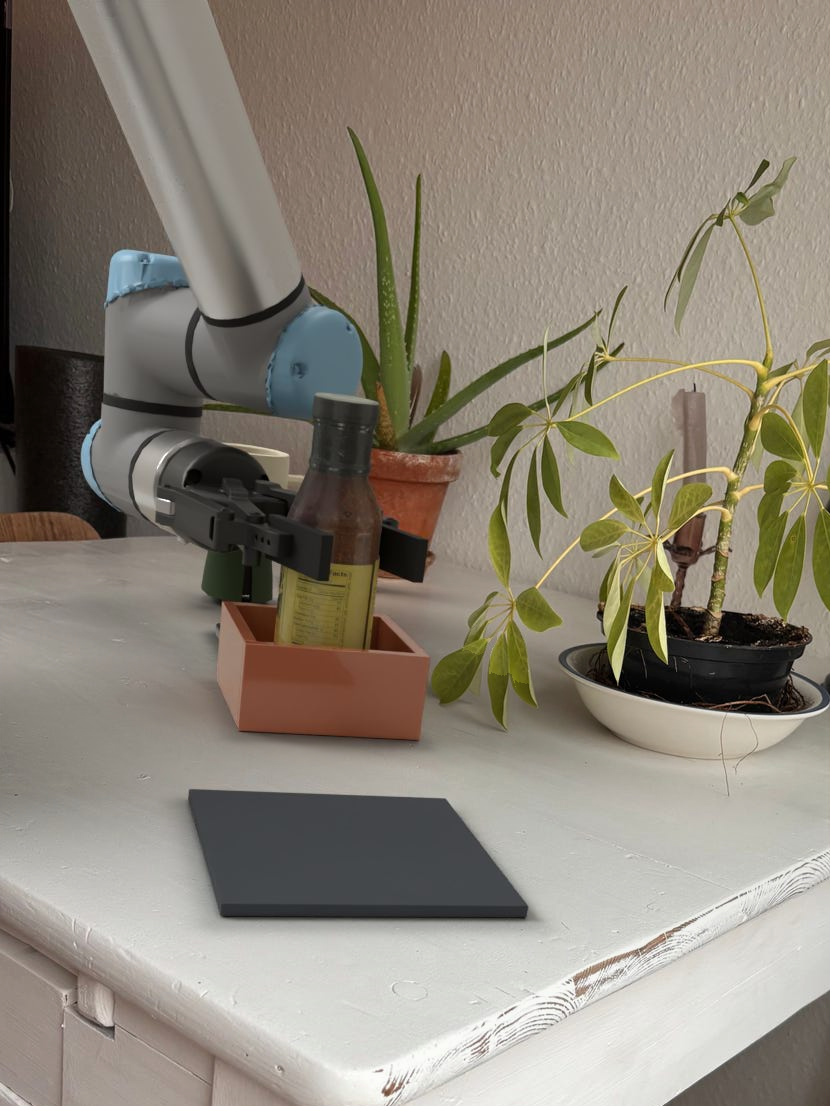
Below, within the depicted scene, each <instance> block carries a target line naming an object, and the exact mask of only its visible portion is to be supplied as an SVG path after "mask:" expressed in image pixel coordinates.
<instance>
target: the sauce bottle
mask: <svg viewBox="0 0 830 1106" xmlns="http://www.w3.org/2000/svg"><path fill="white" fill-rule="evenodd" d="M312 416H313V420H312V421H313V429H312V431H313V432H312V442H311V452H310V456H309V458H308V468H307V470H306V472H305V474H304V475H305V477H304V479H303V481H302V483H301V486H300V488H299V490H298V492H297V495H296V497H295V499H294V502H293V504H292V506H291V509H290V511H289V513H288V515H287V518H289V519H292V520H294V521H297V522H300V523H302V524H305V525H307V526H310V527H312V528H315V529H318V530H320V531H323V532H325V533H328V534H331V535H333V536H334V538H333V547H332V557H331V566H330V576H329V581H317V580H314V579H312V578H310V577H308V576H305V575H303V574H301V573H299V572H296V571H294V570H292V569H290V568H287V567H285V566H283V565H281V564H280V570H279V580H278V581H279V583H278V593H277V594H278V595H277V601H276V603H277V604H276V605H277V615H276V626H275V636H274V643H286V644H299V645H312V646H326V647H339V648H352V649H366V650H370V641H371V632H372V623H373V614H375V606H376V605H375V603H376V596H377V589H378V588H377V587H378V578H379V571H380V569H379V562H380V556H379V547H380V537H381V530H382V514H381V509H382V508H381V507H380V504H379V503H378V500H377V497H376V493H375V492H374V490H373V487H372V484H371V482H370V479H369V475H370V473H371V470H372V465H371V464H372V463H371V461H372V460H371V458H372V451H373V443H374V433H375V430H376V428H377V426H378V422H379V416H380V403H379V402H378V401H375V400H372V399H369V398H364V397H358V396H355V395H354V396H349V395H340V394H331V393H316V394H315V395H314V400H313V406H312Z"/></svg>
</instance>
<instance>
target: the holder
mask: <svg viewBox="0 0 830 1106" xmlns="http://www.w3.org/2000/svg"><path fill="white" fill-rule="evenodd" d="M220 610H221V611H220V622H219V623H220V636H219V639H218V651H217V652H218V653H217V664H216V676H215V677H216V678H215V679H216V681H217V684H218V686H219V688H220V691H221V694H222V695H223V698H224V701H225V702H226V705H227V707H228V709H229V712H230V714H231V716H232V719H233V721H234V723H235V726H236V728H237V730H238V731H239V732H256V733H275V734H292V735H313V736H330V737H331V736H333V737H353V738H369V739H370V738H372V739H373V738H374V739H388V740H389V739H391V740H409V741H419V740H420V737H421V731H422V721H423V714H424V707H425V701H426V695H427V694H426V693H427V686H428V678H429V671H430V664H431V656H430V655H429V653H426V651H425V650H424V649H422V647H420V646H419V644H417V642H416V641H415V640H413V638H411V637H410V635H408V634H407V633H406V632H405V631H404V630H403V629H402V628H401V626H399V624H397V623H396V622H395V621H394V620H393V619H392V618H391V617H390V616H389V614H382V613H374V614H373V623H372V632H371V641H370V650H366V649H352V648H339V647H326V646H312V645H299V644H286V643H274V636H275V626H276V615H277V604H265V603H251V602H243V601H241V602H233V601H226V600H221V609H220Z"/></svg>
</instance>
